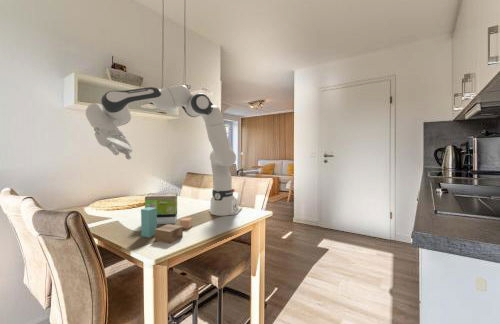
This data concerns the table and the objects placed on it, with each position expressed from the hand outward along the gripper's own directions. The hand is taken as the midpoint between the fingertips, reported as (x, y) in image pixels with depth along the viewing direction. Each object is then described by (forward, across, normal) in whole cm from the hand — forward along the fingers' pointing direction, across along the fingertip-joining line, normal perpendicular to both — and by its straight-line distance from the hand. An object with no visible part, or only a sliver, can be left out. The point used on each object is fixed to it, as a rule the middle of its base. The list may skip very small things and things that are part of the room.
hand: (123, 156), depth 110 cm
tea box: (+29, +26, +12) cm, 41 cm away
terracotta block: (+40, +20, 0) cm, 44 cm away
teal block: (+34, +7, +12) cm, 37 cm away
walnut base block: (+42, +4, +4) cm, 42 cm away
